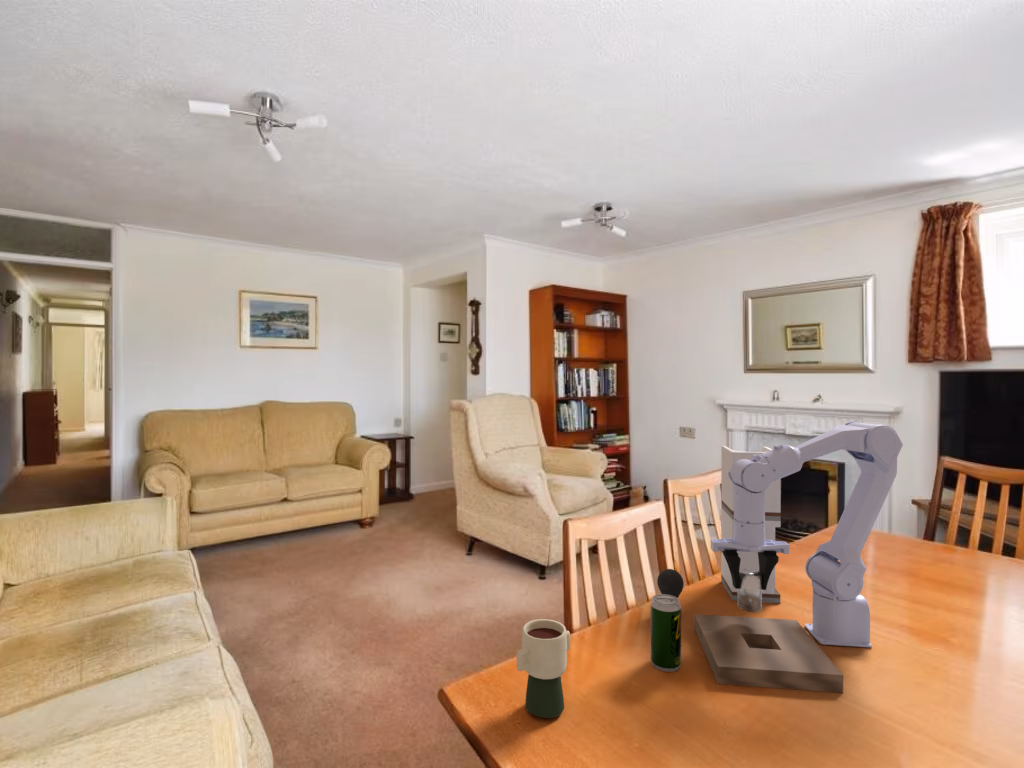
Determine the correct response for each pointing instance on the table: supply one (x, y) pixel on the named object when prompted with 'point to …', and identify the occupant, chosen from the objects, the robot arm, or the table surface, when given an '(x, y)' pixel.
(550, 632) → the character mug
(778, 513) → the tall white column
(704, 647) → the housing block
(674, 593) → the light bulb
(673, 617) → the green drink can
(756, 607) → the shiny metal cylinder
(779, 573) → the table surface
